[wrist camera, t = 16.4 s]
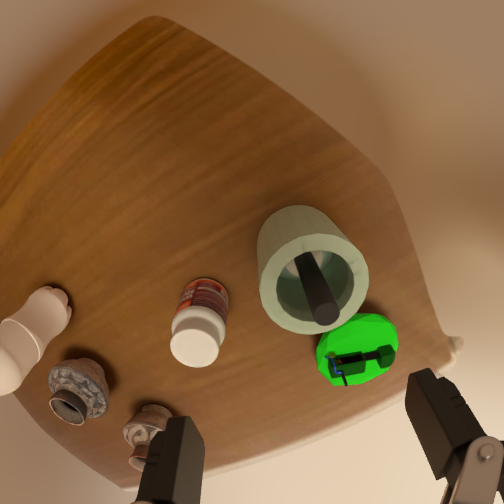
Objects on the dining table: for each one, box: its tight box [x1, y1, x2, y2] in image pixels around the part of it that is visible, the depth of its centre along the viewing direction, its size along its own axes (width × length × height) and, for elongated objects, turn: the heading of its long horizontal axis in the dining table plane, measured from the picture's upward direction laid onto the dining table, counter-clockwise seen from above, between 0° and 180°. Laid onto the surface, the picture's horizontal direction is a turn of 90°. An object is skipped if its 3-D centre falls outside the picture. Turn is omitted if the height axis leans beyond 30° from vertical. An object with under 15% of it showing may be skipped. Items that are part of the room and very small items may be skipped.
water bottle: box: [0, 286, 72, 396], centre depth 31 cm, size 7×7×25 cm
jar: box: [257, 205, 369, 334], centre depth 34 cm, size 10×10×12 cm
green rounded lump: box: [316, 312, 399, 386], centre depth 40 cm, size 12×12×11 cm
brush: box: [286, 250, 340, 326], centre depth 32 cm, size 4×4×16 cm
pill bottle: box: [170, 278, 229, 367], centre depth 37 cm, size 6×6×11 cm
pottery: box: [48, 358, 172, 472], centre depth 43 cm, size 11×25×12 cm, turn 49°
